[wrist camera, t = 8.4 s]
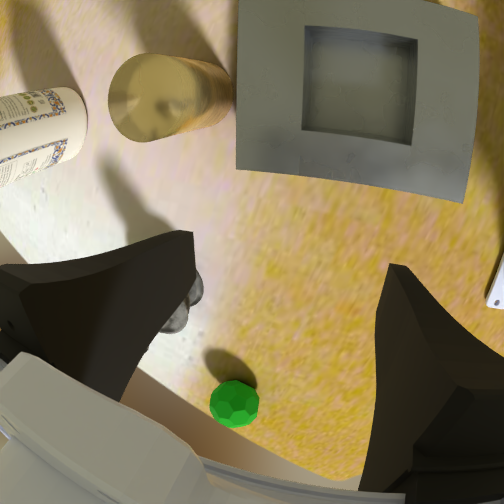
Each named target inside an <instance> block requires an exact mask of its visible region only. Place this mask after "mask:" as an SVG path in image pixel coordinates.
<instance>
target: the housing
mask: <svg viewBox="0 0 504 504" xmlns="http://www.w3.org/2000/svg"><path fill="white" fill-rule="evenodd" d="M478 94H479V27H478V16H475V15H472V14H469V13H466V12H463V11H460V10H457V9H453V8H450V7H447V6H443V5H439V4H436V3H432V2H428V1H424V0H239V5H238V45H237V104H236V169H238V170H250V171H261V172H271V173H281V174H290V175H299V176H307V177H315V178H323V179H330V180H337V181H344V182H351V183H357V184H364V185H370V186H376V187H382V188H388V189H393V190H399V191H404V192H410V193H415V194H420V195H425V196H430V197H435V198H439V199H444V200H449V201H453V202H458V203H462V204H463V200H464V196H465V191H466V186H467V181H468V176H469V170H470V164H471V158H472V152H473V145H474V137H475V129H476V119H477V108H478Z"/></svg>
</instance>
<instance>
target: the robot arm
mask: <svg viewBox="0 0 504 504" xmlns="http://www.w3.org/2000/svg"><path fill="white" fill-rule="evenodd" d="M196 278H197V277H196V265H195V252H194V238H193V232H190V231H183V230H176V231H171V232H167V233H164V234H161V235H158V236H155V237H152V238H149V239H146V240H143V241H140V242H137V243H134V244H131V245H128V246H125V247H122V248H118V249H115V250H112V251H109V252H105V253H102V254H98V255H93V256H89V257H85V258H80V259H74V260H67V261H62V262H53V263H42V264H4V265H1V266H0V328H1V331H0V431H1V432H2V433H3V434H4V435H5V436H6V437H7V438H8V439H9V441H8V442H7V443H6V444H5V446H4V447H3V448H2V449H1V450H0V504H504V357H502V356H501V355H499V354H498V353H496V352H495V351H493V350H492V349H490V348H489V347H488V346H486V345H485V344H484V343H482V342H481V341H480V340H478V339H477V338H476V337H474V336H473V335H472V334H471V333H470V332H468V331H467V330H466V329H465V328H464V327H463V326H462V325H461V324H459V323H458V322H457V321H456V320H455V319H454V318H453V317H452V316H451V315H450V314H449V313H448V312H447V311H446V310H445V309H444V308H443V307H442V306H441V305H440V304H439V303H438V302H437V300H436V299H435V298H434V297H433V296H432V295H431V294H430V293H429V291H428V290H427V289H426V288H425V287H424V286H423V284H422V283H421V282H420V281H419V280H418V278H417V277H416V276H415V275H414V274H413V273H412V271H411V270H410V269H409V268H408V267H407V266H404V265H398V264H392V263H389V267H388V271H387V275H386V278H385V282H384V286H383V290H382V293H381V297H380V300H379V304H378V307H377V310H376V322H375V355H376V401H375V410H374V417H373V424H372V430H371V436H370V442H369V447H368V452H367V456H366V461H365V465H364V470H363V474H362V477H361V481H360V485H359V488H358V491H352V490H343V489H335V488H327V487H321V486H314V485H308V484H303V483H297V482H292V481H287V480H283V479H278V478H274V477H269V476H265V475H261V474H257V473H253V472H249V471H246V470H242V469H239V468H235V467H232V466H228V465H225V464H222V463H219V462H215V461H212V460H210V459H207V458H204V457H201V456H198V455H196V454H195V452H194V451H193V450H192V448H191V447H190V446H189V445H188V444H187V443H186V442H184V441H183V440H182V439H180V438H179V437H177V436H176V435H175V434H173V433H172V432H171V431H170V430H168V429H167V428H166V427H164V426H163V425H161V424H159V423H157V422H155V421H153V420H151V419H150V418H148V417H146V416H144V415H142V414H141V413H139V412H137V411H135V410H134V409H131V408H129V407H127V406H125V405H123V404H121V403H119V401H120V399H121V397H122V395H123V392H124V390H125V388H126V386H127V384H128V382H129V380H130V378H131V376H132V374H133V373H134V371H135V368H136V367H137V365H138V363H139V361H140V360H141V358H142V356H143V355H144V353H145V351H146V350H147V348H148V346H149V345H150V343H151V342H152V340H153V339H154V337H155V336H156V335H157V333H158V332H159V331H160V330H161V328H162V327H163V326H164V325H165V323H166V322H167V321H168V320H169V318H170V317H171V316H172V315H173V313H174V312H175V311H176V309H177V308H178V307H179V306H180V304H181V303H182V302H183V300H184V299H185V298H186V296H187V294H188V293H189V291H190V289H191V287H192V286H193V284H194V282H195V280H196ZM496 300H498V301H497V302H496V303H494V302H495V301H496ZM485 302H486V305H487V306H488V307H491V308H498V309H504V253H503V256H502V259H501V262H500V264H499V267H498V270H497V273H496V275H495V278H494V280H493V283H492V285H491V288H490V290H489V293H488V295H487V297H486V300H485Z"/></svg>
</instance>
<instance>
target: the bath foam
mask: <svg viewBox="0 0 504 504" xmlns="http://www.w3.org/2000/svg"><path fill="white" fill-rule="evenodd" d="M86 132H87V114H86V109H85V106H84V103H83V101H82V99H81V98H80V96H79V95H78V94H77V93H76V92H75V91H74V90H72V89H70V88H67V87H58V88H50V89H42V90H36V91H29V92H24V93H18V94H13V95H8V96H3V97H0V187H3V186H5V185H7V184H9V183H12V182H14V181H16V180H19V179H21V178H23V177H26V176H28V175H31V174H33V173H36V172H38V171H41V170H43V169H46V168H48V167H51V166H54V165H56V164H58V163H61V162H64V161H67V160H69V159H71V158H73V157H74V156H75V155H76V154H77V153H78V152H79V151H80V149H81V147H82V145H83V143H84V140H85V137H86Z"/></svg>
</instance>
